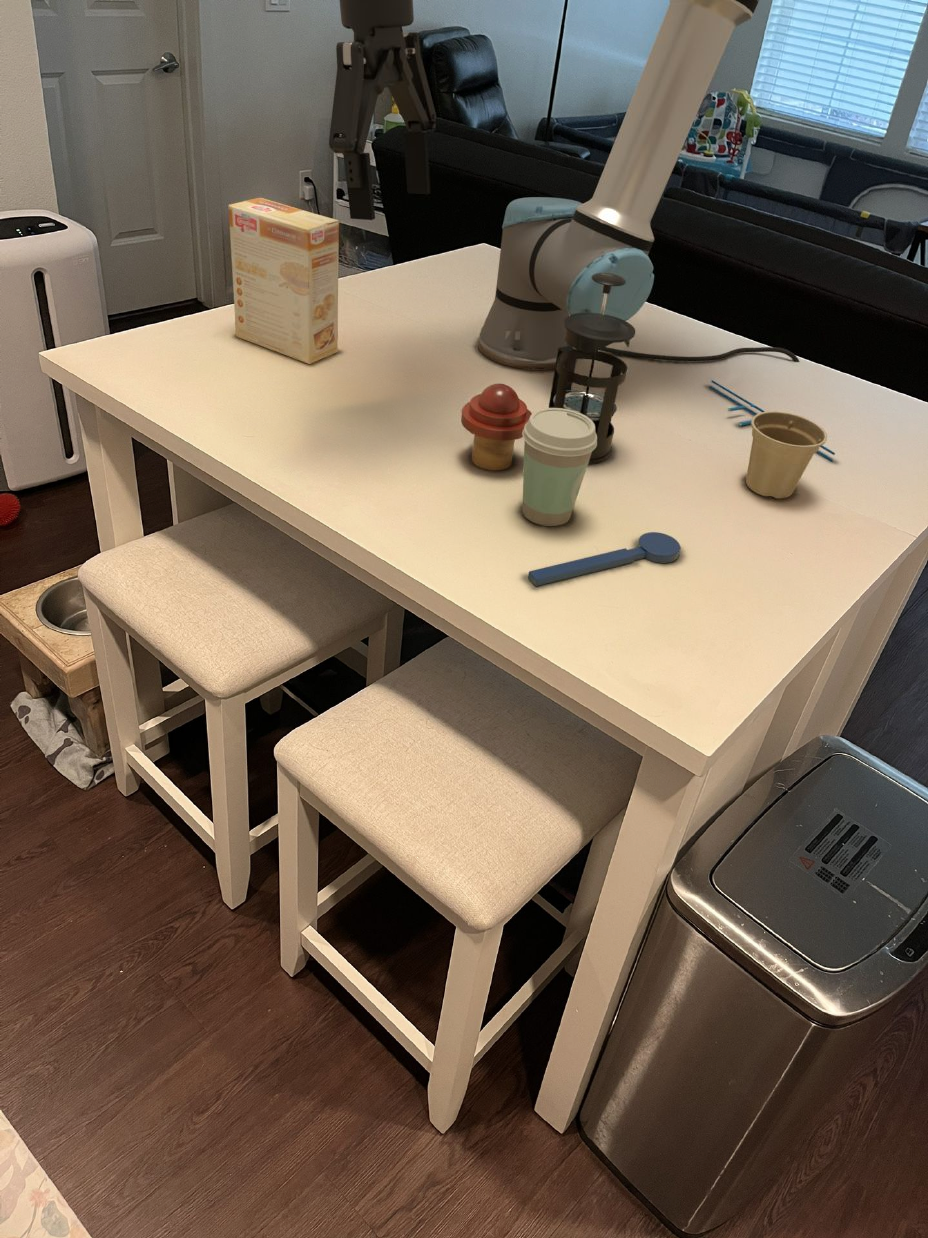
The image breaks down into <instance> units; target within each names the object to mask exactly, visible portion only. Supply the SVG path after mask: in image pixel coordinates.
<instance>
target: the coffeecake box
mask: <svg viewBox="0 0 928 1238" xmlns="http://www.w3.org/2000/svg"><path fill="white" fill-rule="evenodd" d="M228 218H229V219H228V220H229V222H228V223H229V238H230V239H229V240H230V254H231V258H230V259H231V270H232V273H231V274H232V287H233V288H232V290H233V291H232V292H233V308H234V324H235V325H234V326H235V337H236V338H239V339H242V340H244V341H248V342H250V343H253V344H255V345H257V346H260V347H263V348H265V349H268V350H271V351H274V352H277V353H279V354H282V355H284V356H287V357H289V358H292V359H294V360H297V361H300V362H303V363H305V364H308V365H311V364H313V363H316V362H317V361H320V360H322V359H325V358H327V357H330V356H332V355H335V354H336V353H338V352H339V350H338V348H339V347H338V339H339V335H338V334H339V333H338V331H339V250H340V249H339V248H340V247H339V246H340V245H339V244H340V238H339V237H340V220H338V219H335V218H331V217H328V216H326V215H325V216H324V215H321V214H317V213H315V212H311V211H307V210H303V209H300V208H298V207H293V206H290V205H286V204H283V203H280V202H276V201H273V200H269V199H266V198H263V197H256V198H251V199H246V200H243V201H239V202H235V203H230V204H228Z"/></svg>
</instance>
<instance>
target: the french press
mask: <svg viewBox="0 0 928 1238" xmlns="http://www.w3.org/2000/svg"><path fill="white" fill-rule="evenodd" d="M591 278H592V280H593V281H595V282H597V283H599V284H602V285H604V286H603V293H605V294H604V299H603V304H602V309H601V314H599V313H577V314H573V315H569V316H568V317H566V319H565V320H564V327H565V328H566V335H565V341H566V342H567V344H568V345H570V346H571V347H570V346H565V347H559V348H558V352H557V358H556V364H555V368H554V372H553V377H552V383H551V389H550V394H549V402H548V408H562V409H568V410H572V411H576V412H578V413H581V414H583V415H585V416H587V417H588V418H589V419H591V420H592V421H593V423H594V425H595V432H596V435H597V446H596V448H595V449H594V450H593V451H592V453H591V456H590V459H589V462H588V465H594V464H599V463H601V462H604V461H607V460H608V459H609V458H610V457H611V454H612V451H613V449H612V443H613V439H614V434H615V427H614V425H613V423H612V418H613V416H614V415H615V414H616V412H617V411H618V407H617V404H616V400H617V394H618V391H619V386H621V385H622V384H623V383H625V381H626V378H627V374H628V365H627V364H626V362H625V361H624V360H622V359H621V358H620V357H617V356H616V355H614V354H612V353H609V352H604V351H600V350H601V349H602V348H604V347H608V346H611V345H612V344H616V343H625V345H626V347H627V348H629V346H630V343H631V342H630V341H631V340H632V339H633V338H634V337H635V336H636V328H635V327H634V326H633V324H631V323H629V322H628V321H624V320H622V319H619V318H617V317H613V316H610V315H605V314H604V309H605V304H606V299H607V294H610V290H611V286H622V285H624V284H625V283H626V280H625V279H624V278H622V277H620V276H618V275H615V274H611V273H596V274H594V275H592V277H591ZM572 347H573V348H572ZM578 360H588V361H591V362H590V367H589V374H588V375H584V374H580V373H578V372H575V371H576V366H577V361H578ZM595 362H599V363H604V364H606V365H608V366H611V371H610V376H609V377H595V376H593V372H594V368H595V367H594V366H595ZM573 384H575V385H578V386H581V387H586V389H572V388H573ZM590 388H593V389H604V393H603V394H601V393H599V392H595V391H591V390H590Z"/></svg>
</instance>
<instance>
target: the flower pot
mask: <svg viewBox="0 0 928 1238" xmlns="http://www.w3.org/2000/svg"><path fill="white" fill-rule="evenodd" d="M750 420H751V424H750V425H751V428H752V430H751V436H752V440H751V447H750V453H749V459H748V464H747V465H748V466H747V471H746V476H745V482H746V486H747V488H749V490H751V491H752V492H754V493H756V494H757V495H760V496H762V497H773V498H774V499H785V498H788V497H790V496H791V495H793V493H794V491H795V489H796V488H797V486H798V483H799V482H800V480H801V478H802V476H803V474H804V473H805V471H806V470H807V467H808V466H809V464H810V462H811V460H812V458H813V456H814V455H815V454H816V453H817V451H819V449H820V448H821V447H820V446H822V445H823V446H824V445H825V443H826V442H827V441H828V433H827V431H826V430H825V429H824V428H823V427H822V426H821V425H819V424H818V423H816V422H814V421H813V420H811V419H809V418H806V417H804V416H801V415H798V414H795V413H791V412H787V411H786V412H785V411H780V410H779V411H778V410H775V411H774V410H768V411H765V412H759V413H757V415H753V417H752V418H751V419H750Z"/></svg>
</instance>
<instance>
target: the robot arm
mask: <svg viewBox="0 0 928 1238" xmlns="http://www.w3.org/2000/svg"><path fill="white" fill-rule="evenodd" d="M338 2H339V11H340V21H341V25H342V27H344V28H345V29H348V30H352V33H353V41H338V42H337V43H336V47H335V50H336V76H335V83H334V84H335V85H334V92H333V93H334V94H333V103H332V111H331V119H330V129H329V138H328V146H329V148H330V149H331V150H332V151H333V153H334V154H342V156H343V163H344V172H345V182H346V183H345V184H346V189H347V190H346V191H347V198H348V207H349V219H351V220H363V221H373V220H375V219H376V212H375V202H374V201H375V200H374V189H373V188H374V187H373V176H372V165H371V155H370V152H365V149H366V144H367V141H368V138H369V133H370V129H371V125H372V121H373V118H374V114H375V110H376V105H377V101H378V98H379V95H381V94H382V93H384V90H385V88H387V89H388V90H389V93H390V95H391V97H392V99H393V101H394V103H395V105H396V107H397V108H396V109H398V112H399V115H400V116H401V118H402V121H403V123H404V125H405V127H406V129H407V131H405V132H403V148H404V163H405V176H406V177H405V179H406V190H407V194H410V195H411V194H414V195H430V194H431V181H430V179H431V178H430V162H429V145H428V144H429V143H428V133H427V132H435V130H436V124H437V123H436V120H437V113H436V109H435V106H434V101H433V97H432V94H431V89H430V87H429V86H430V85H429V82H428V79H427V75H426V70H425V67H424V63H423V59H422V55H421V45H420V36H419V33H418V32H417V31H414V32H413V31H410V32H408V31H406V32H405V31H404V30H403V28H404V27H408V26H411V25H412V24H413V23H414V19H415V15H414V0H338ZM759 2H760V0H669V4H668V7H667V9H666V12H665V15H664V17H663V20H662V22H661V25H660V27H659V30H658V32H657V35H656V37H655V40H654V42H653V44H652V47H651V50H650V52H649V55H648V56H647V57H648V58H647V60H646V63H645V65H644V67H643V70H642V71H641V75H640V77H639V80H638V83H637V85H636V88H635V90H634V93H633V95H632V98H631V100H630V103H629V105H628V108H627V110H626V113H625V115H624V118H623V120H622V123H621V126H620V127H619V130H618V133H617V135H616V137H615V141H614V142H613V145H612V148H611V151H610V153H609V154H608V155H609V156H608V158H607V161H606V162H605V165H604V168H603V171H602V172H601V175H600V178H599V180H598V183H597V186H596V187H595V191H594V193H593V195H592V197H591V198H590V199H589V200H588V201H586V202H584V203H582V202H580V201H578V200H573V199H568V198H561V197H548V196H547V197H545V196H544V197H543V196H537V197H536V196H534V197H533V196H532V197H531V196H530V197H522V198H521V197H520V198H517V199H514V200H512V201H511V202H509V204H508V205H507V207H506V209H505V214H504V218H503V223H502V225H501V229H502V233H501V243H500V252H499V261H498V268H497V269H498V270H497V279H496V287H495V295H494V300H493V302H492V305H491V307H490V309H489V311H488V313H487V316H486V318H485V320H484V323H483V325H482V327H481V329H480V332H479V336H478V343H477V345H478V349H479V351H480V352H481V353H482V354H483V355H484V356H485V357H487V358H488V359H490V360H492V361H494V362H496V363H499V364H502V365H505V366H508V367H513V368H517V369H523V370H537V371H539V370H551V369H555V364H556V358H557V352H558V348H559V347H565V346H570V345H568V344H567V342H566V341H565V335H566V328H565V327H564V320H565V319H566V317H568V316H570V315H573V314H577V313H599V314H601V309H602V304H603V299H604V294H605V293H603V286H604V285H602V284H599V283H597V282H595V281H593V280H592V278H591V277H592V275H594V274H596V273H611V274H615V275H618V276H620V277H622V278H624V279H625V280H626V283H625V284H624V285H622V286H611V290H610V294H607V299H606V304H605V309H604V314H605V315H610V316H613V317H617V318H619V319H622V320H624V321H626V322H628V320H630V319H632V318H633V317H634V316H635V315H636V314H637V313H638V312H639V311H640V310H641V309H642V307H643V306H644V305H645V303H646V302H647V300H648V298H649V296H650V294H651V293H652V289H653V285H654V281H655V274H654V273H653V271H654V265H653V263H652V261H651V259H650V257H649V254H650V251H651V248H652V247H653V244H654V241H655V237H654V233H653V231H652V227H651V221H652V219H653V217H654V214H655V212H656V210H657V207H658V205H659V203H660V200H661V198H662V195H663V193H664V191H665V189H666V187H667V184H668V182H669V179H670V177H671V176H672V172H673V171H674V168H675V166H676V163H677V161H678V159H679V156H680V154H681V152H682V149H683V147H684V144H685V142H686V140H687V138H688V135H689V133H690V131H691V129H692V126H693V124H694V121H695V119H696V117H697V114H698V112H699V110H700V108H701V106H702V103H703V101H704V99H705V96H706V94H707V92H708V89H709V88H710V87H709V86H710V85H711V82H712V80H713V78H714V76H715V74H716V70H717V68H718V67H719V64H720V61H721V60H722V57H723V55H724V52H725V50H726V48H727V45H728V43H729V41H730V38H731V36H732V34H733V31H734V30H735V29H736V28H737V27H739V26H740V25H742V24H744V23H746V22H748V21H750V20H751V19H752V18H753V16H754V13H755V11H756V9H757V7H758V4H759ZM570 347H571V346H570ZM572 348H573V347H572ZM599 351H601V352H605V353H608V354H613V355H614V354H615V355H621V356H627V357H633V358H639V359H645V360H646V359H647V360H655V361H656V360H658V361H671V362H710V361H711V362H712V361H719V360H723V359H724V360H725V359H726V358H729V357H732V356H735V355H737V354H743V353H780V354H784V355H786V356H788V357H790V359H791V360H792V361H793V362H795V363H800V359H799V358H798V357H797V355H796V354H795V353H793V352H792V351H790V350H788V349H786V348H783V347H776V346H759V347H758V346H757V347H740V348H735V349H732V350H730V351H727V352H724V353H720V354H715V355H705V356H704V355H703V356H701V355H700V356H681V355H664V354H655V353H654V354H653V353H651V354H650V353H644V352H637V351H629V350H624V349H618V348H614V347H613V348H612V347H608V346H606V347H604V348H602V349H601V350H599Z"/></svg>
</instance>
